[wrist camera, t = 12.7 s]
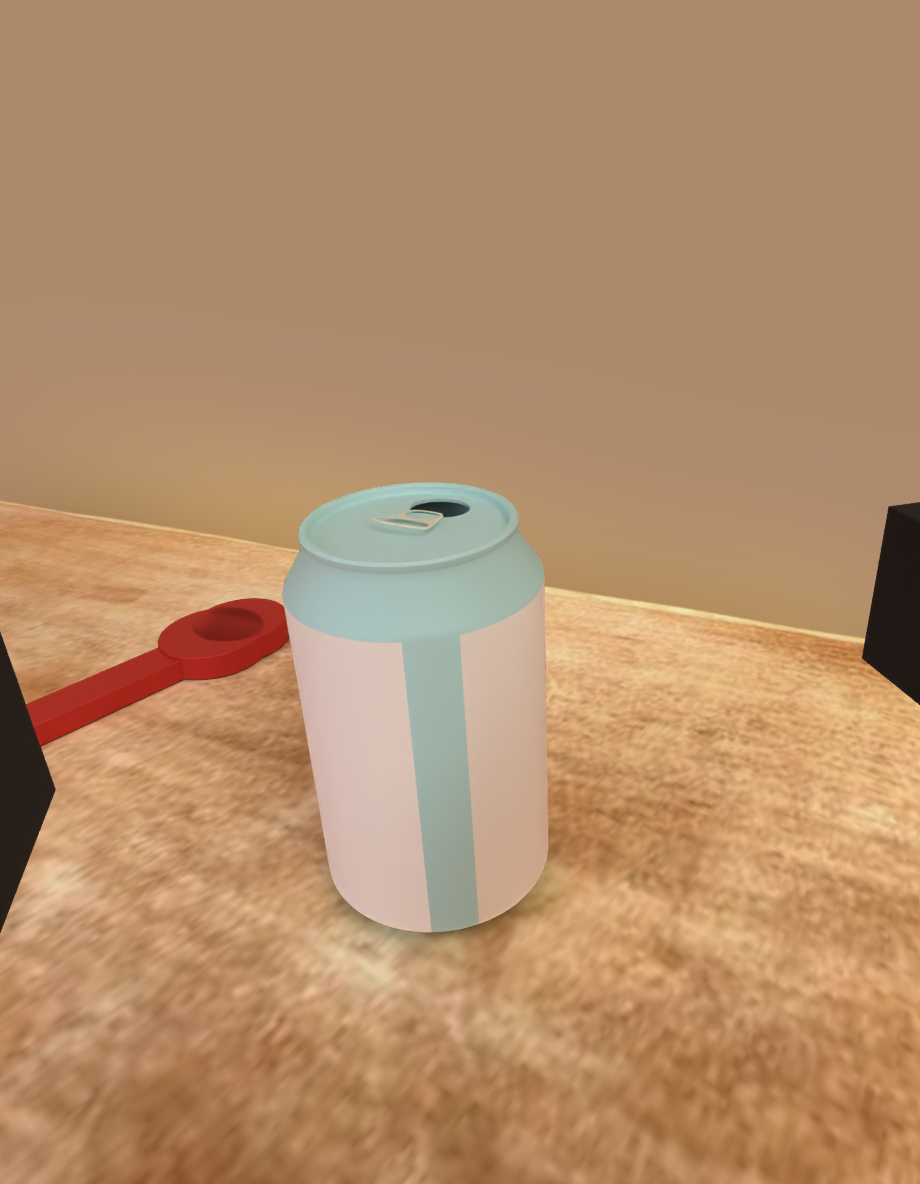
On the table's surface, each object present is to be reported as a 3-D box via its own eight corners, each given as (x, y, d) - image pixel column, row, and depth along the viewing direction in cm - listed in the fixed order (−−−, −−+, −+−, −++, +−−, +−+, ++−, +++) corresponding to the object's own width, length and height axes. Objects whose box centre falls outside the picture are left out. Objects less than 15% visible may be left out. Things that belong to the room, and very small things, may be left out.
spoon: (-155, 862, 29) (-169, 835, 28) (-187, 799, 32) (-199, 774, 31) (311, 637, 41) (307, 616, 40) (254, 608, 44) (250, 588, 44)
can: (333, 802, 30) (281, 485, 25) (525, 777, 31) (515, 462, 25) (329, 965, 24) (260, 588, 18) (572, 931, 24) (573, 555, 19)
